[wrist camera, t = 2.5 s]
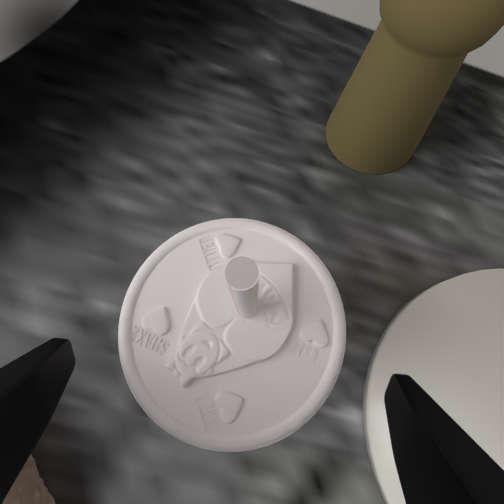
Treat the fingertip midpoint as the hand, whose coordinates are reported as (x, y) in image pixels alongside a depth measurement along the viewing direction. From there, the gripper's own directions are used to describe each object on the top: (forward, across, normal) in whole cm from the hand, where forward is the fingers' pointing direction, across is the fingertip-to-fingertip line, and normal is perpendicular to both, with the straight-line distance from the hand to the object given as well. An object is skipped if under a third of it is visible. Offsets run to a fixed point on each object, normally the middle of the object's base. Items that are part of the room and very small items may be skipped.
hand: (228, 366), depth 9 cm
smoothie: (+7, 0, +6) cm, 9 cm away
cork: (+17, -7, -4) cm, 19 cm away
